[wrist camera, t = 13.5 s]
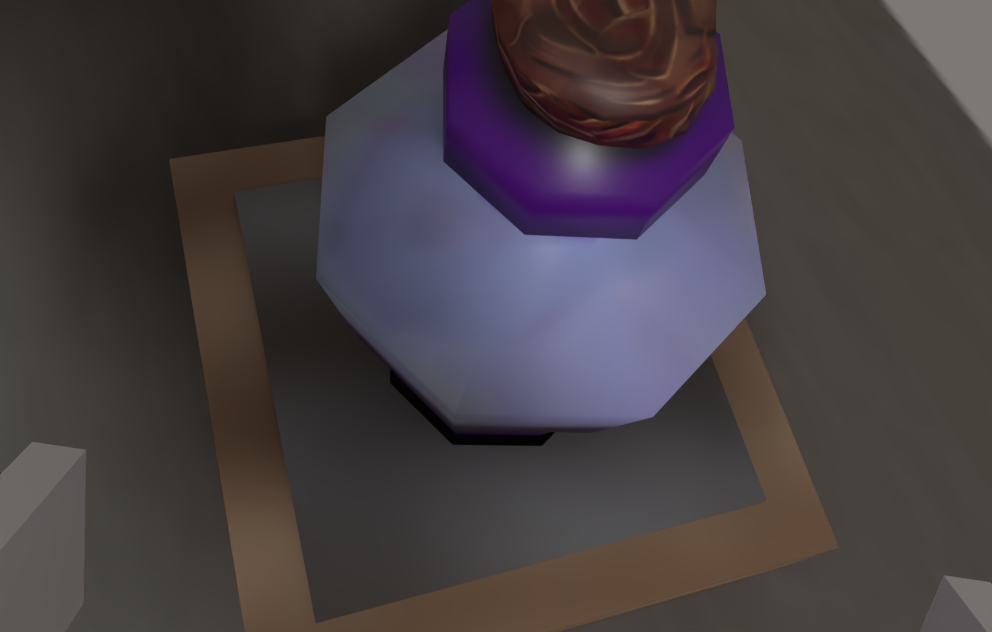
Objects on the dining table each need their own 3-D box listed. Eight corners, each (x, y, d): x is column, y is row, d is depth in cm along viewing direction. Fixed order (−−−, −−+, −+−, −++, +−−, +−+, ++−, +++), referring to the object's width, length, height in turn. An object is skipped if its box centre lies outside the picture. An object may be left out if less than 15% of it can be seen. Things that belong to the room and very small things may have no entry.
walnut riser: (195, 232, 27) (166, 153, 23) (618, 161, 30) (654, 80, 27) (276, 714, 22) (256, 715, 18) (771, 570, 25) (844, 545, 22)
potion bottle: (721, 437, 22) (1060, 178, 11) (396, 576, 20) (433, 416, 9) (573, 159, 25) (731, -263, 14) (273, 253, 23) (185, -169, 12)
